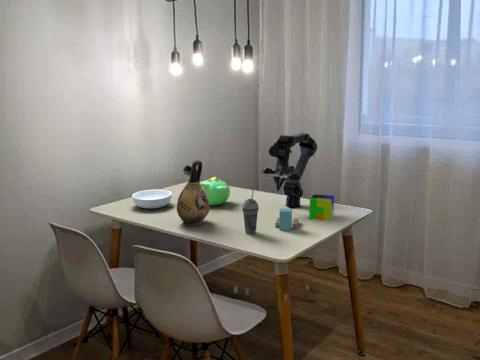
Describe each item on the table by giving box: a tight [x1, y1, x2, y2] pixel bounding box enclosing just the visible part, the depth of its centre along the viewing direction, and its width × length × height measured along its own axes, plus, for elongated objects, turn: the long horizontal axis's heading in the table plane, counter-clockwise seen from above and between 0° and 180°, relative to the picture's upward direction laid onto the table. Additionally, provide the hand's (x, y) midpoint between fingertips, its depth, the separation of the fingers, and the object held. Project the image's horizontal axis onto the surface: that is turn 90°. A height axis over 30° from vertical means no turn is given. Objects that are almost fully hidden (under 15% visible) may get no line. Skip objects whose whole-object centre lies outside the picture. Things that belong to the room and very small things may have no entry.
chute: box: [275, 216, 299, 229], centre depth 224 cm, size 9×10×2 cm
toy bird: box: [200, 176, 231, 206], centre depth 258 cm, size 18×17×15 cm
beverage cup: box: [241, 188, 260, 236], centre depth 212 cm, size 7×7×20 cm
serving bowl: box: [131, 189, 172, 210], centre depth 257 cm, size 21×21×7 cm
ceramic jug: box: [176, 159, 210, 227], centre depth 226 cm, size 17×15×30 cm
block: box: [279, 207, 293, 232], centre depth 218 cm, size 5×5×9 cm
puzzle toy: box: [309, 193, 335, 221], centre depth 235 cm, size 10×10×10 cm
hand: (277, 191), depth 239 cm, fingers closed
